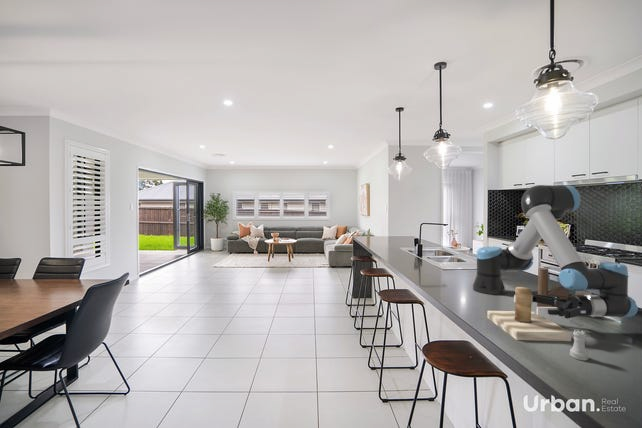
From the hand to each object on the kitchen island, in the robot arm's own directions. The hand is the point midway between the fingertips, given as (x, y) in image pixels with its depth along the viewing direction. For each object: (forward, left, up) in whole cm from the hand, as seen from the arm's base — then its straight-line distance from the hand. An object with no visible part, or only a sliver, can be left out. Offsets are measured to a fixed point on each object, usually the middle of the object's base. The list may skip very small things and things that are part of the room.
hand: (525, 304), depth 112 cm
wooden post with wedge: (-21, +24, -9) cm, 34 cm away
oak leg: (0, -1, -9) cm, 9 cm away
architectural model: (-26, +41, -10) cm, 50 cm away
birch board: (0, 0, -9) cm, 9 cm away
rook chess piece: (+21, +3, -9) cm, 23 cm away
